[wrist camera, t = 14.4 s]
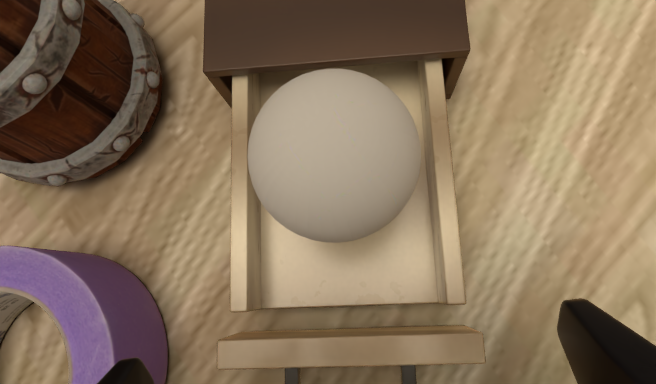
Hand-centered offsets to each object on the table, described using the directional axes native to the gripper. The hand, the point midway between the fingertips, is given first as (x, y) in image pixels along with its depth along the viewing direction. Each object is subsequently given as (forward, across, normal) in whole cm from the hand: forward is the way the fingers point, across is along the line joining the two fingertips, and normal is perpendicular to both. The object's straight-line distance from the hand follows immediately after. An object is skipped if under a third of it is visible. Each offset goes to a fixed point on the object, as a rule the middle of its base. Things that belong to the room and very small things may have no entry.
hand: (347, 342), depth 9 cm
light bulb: (+12, 0, +4) cm, 13 cm away
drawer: (+12, 0, +6) cm, 13 cm away
